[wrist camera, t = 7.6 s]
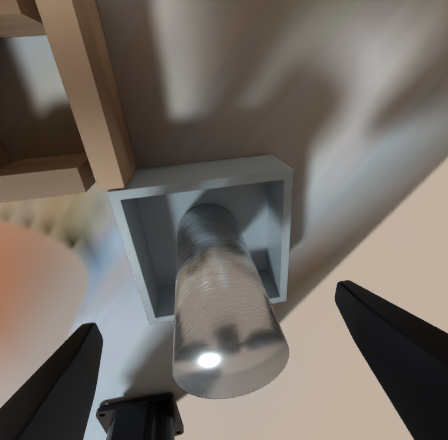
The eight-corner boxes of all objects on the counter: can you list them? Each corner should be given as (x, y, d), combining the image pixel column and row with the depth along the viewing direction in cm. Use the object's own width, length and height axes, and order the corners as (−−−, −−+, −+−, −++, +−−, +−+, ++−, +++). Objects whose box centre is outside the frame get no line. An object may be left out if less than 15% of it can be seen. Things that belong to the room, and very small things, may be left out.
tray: (270, 268, 17) (286, 301, 14) (154, 286, 16) (149, 324, 14) (271, 153, 13) (293, 169, 11) (122, 170, 13) (107, 192, 10)
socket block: (136, 167, 13) (124, 187, 10) (-3, 183, 12) (-54, 209, 9) (95, -1, 10) (61, -36, 7) (-95, 9, 9) (-210, -25, 6)
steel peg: (239, 251, 15) (286, 386, 8) (182, 260, 15) (182, 408, 8) (236, 199, 14) (292, 313, 7) (172, 207, 13) (161, 337, 6)
